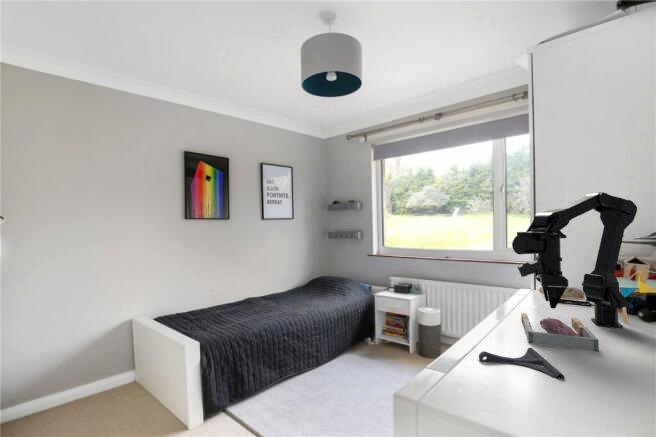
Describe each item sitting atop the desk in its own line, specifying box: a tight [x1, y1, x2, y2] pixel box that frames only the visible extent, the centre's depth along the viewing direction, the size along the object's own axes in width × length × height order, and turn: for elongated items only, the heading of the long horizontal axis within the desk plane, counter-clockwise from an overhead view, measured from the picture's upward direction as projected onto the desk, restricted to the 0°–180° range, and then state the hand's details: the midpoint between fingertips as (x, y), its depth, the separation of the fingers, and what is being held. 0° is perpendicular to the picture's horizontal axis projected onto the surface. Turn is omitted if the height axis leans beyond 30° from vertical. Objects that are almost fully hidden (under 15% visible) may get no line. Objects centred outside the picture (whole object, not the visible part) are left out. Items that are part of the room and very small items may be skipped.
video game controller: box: [539, 316, 581, 337], centre depth 90 cm, size 10×5×7 cm, turn 5°
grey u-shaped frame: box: [524, 321, 599, 353], centre depth 90 cm, size 10×15×3 cm
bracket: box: [478, 347, 566, 380], centre depth 77 cm, size 14×15×3 cm
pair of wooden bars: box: [520, 312, 586, 337], centre depth 99 cm, size 10×15×2 cm, turn 64°
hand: (550, 304), depth 99 cm, fingers open, 9 cm apart
